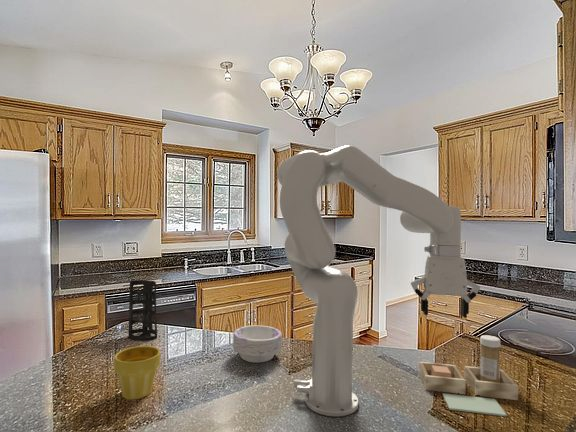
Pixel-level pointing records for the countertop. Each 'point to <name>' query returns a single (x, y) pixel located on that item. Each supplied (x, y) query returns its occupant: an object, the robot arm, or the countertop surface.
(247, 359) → the white bowl
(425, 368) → the box
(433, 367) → the terracotta cube
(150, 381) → the plant pot
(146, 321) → the holder
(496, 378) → the sprinkles bottle
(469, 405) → the mat
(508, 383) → the box
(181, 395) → the countertop surface
